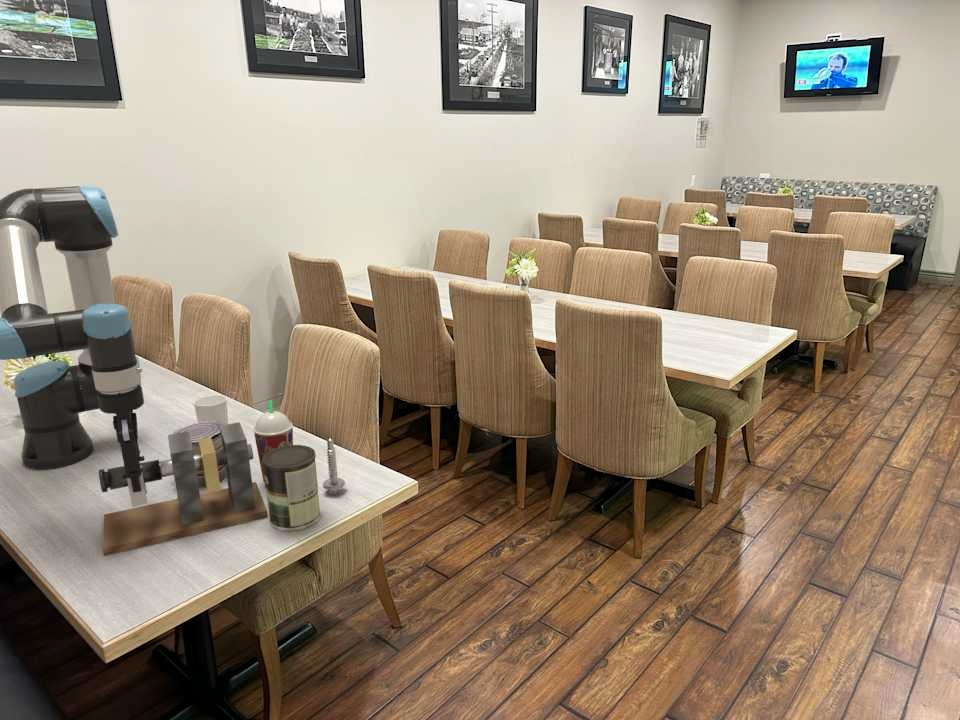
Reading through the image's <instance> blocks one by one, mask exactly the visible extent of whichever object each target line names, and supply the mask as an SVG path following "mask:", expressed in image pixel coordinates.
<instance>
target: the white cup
mask: <svg viewBox="0 0 960 720" xmlns="http://www.w3.org/2000/svg"><path fill="white" fill-rule="evenodd" d="M193 405H194V411H195V416H196V420H197V422H205V421H214V420H215V421H217V422H220V423H222V424H224V425H227V424H229V417H228V403H227V397H226V396H224V395H222V394H220V395H219V394H212V395H205V396H201V397H199V398H197V399H195V400H194V402H193Z"/></svg>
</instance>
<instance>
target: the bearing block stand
mask: <svg viewBox="0 0 960 720" xmlns="http://www.w3.org/2000/svg"><path fill="white" fill-rule="evenodd" d="M220 433H221V440H222V447H223V449H226V457H227V465H225V468H226V475H227V478H226V481H227V487H225V488H221V490H220V491H216V492H211V493H207V491H206V492H203V493H200V488H199V486H198V479H197V473H196V466H195V460H194V453H193V448H192V443H191V439H190V434H189V431H187V432H182V433H176V434H173V433H172V434H167V441H168V446H169V453H170V459H171V460H172V466H173V472H174V475H173V476H174V483H175V489H176V496H177V498H174V499H171V500H165V501H160V502H156V503H151V504H148V505H147V504H145V505H140V506H135V507H132V508H128V509H123V510H118V511H114V512H109V513H105V514H103V527H102V528H103V529H102V547H101V550H102V555H103V556H105V557H106V556H108V555H113V554H119V553H122V552H126V551H130V550H135V549H138V548H139V549H140V548H142V547H147V546H150V545H151V546H152V545H155V544H159V543H163V542H168V541H172V540H176V539H181V538H184V537H190V536H193V535H197V534H201V533H205V532H206V533H207V532H211V531H215V530H219V529H224V528H227V527H230V526H232V527H233V526H235V525H238V524H244V523H247V522H252V521H256V520H261V519H265V518H269V512H268V509H267V506H266V504H265V502H264V499H263V496H262V494H261V492H260V489H259V487H258V484H257V482H256V481H254V482H253V479H252V470H251V464H250V463H251V461H250V460H249V454H248V446H247V445H248V440H247V437H246V434H245V432H244V430H243V428H242V424H241V422H239V421H238V422H233V423H228V424H227V425H221V426H220Z"/></svg>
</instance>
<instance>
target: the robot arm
mask: <svg viewBox="0 0 960 720" xmlns="http://www.w3.org/2000/svg"><path fill="white" fill-rule="evenodd" d="M118 236H119V232H118V229H117V225H116V221H115V218H114V214H113V212H112V209H111V206H110V203H109V200H108V197H107V195H106V193H105V192H104V190H103V189H101V188H100V187H97V186H83V185H81V186H80V185H76V186H75V185H74V186H58V187H41V188H24V189H23V188H22V189H18V190H15V191H13V192H11V193H9V194H7V195H6V196H4V197H3V198H1V199H0V360H1V361H7V360H19V359H23V360H24V359H26V358H32V357H33V358H34V357H39V356H47V355H52V354H53V355H54V354H58V353H64V352H66V353H67V352H72V351H73V352H74V351H81V350H82V352H81V354H79V355H78V357H77V362H78V364H76V365H70V364H69V363H68V361H66V360H62V359H60V360H50V361H45V362H42V363H41V362H40V363H38V364H34V365H32V366H30V367H27V368H25V369H23V370H21V371H20V372H18V373H17V374H16V375H15V376H14V379H13V385H14V386H13V387H14V390H15V393H14V396H15V398H16V399H17V403H18V408H19V412H20V417H21V422H22V426H23V430H24V437H23V444H22V451H21V459H22V465H23V464H24V465H25V466H26V467H25V466H24V465H23V466H24V467H25V468H27V467H29V468H28V469H30V468H34V469H33V470H50V469H49V468H52V469H58V468H62V467H61V466H63V467H67V466H70V465H73V464H76V463H79V462H80V460H81V461H83V460H85V459H87V458H88V457H89V456H90V455H92V454H93V452H94V450H95V448H94V443H93V440H92V438H91V437H90V435H89V434H88V432H87V430H86V429H85V428H84V426H83V424H82V423H81V420H80V414H79V413H84V412H90V411H95V410H100V411H101V412H102V413H104V414H108V415H109V414H110V415H111V414H113V416H112V424H113V429H114V430H115V433H116V437H117V443H118V444H120V451H121V454H122V455H121V456H122V460H123V466H124V467H125V472H126V474H124V475H122V477H123V478H127V482H128V486H127V487H128V491H129V497H130V501H131V502H130V503H131V507H132V508H136V507H140V506H145V505H147V504H148V497H147V493H148V491H147V485H146V483H144V480H143V474H142V470H141V469H140V463H143V462H144V461H145V456H144V455H142V456H141V451H140V448H139V442H138V438H139V436H138V435H139V434H138V431H139V430H138V418H137V412H134V410H138V409H139V408H141V407H142V406H143V405H144V403H145V400H144V393H143V388H142V378H141V377H142V376H141V373H142V372H143V368H142V367H141V366H140V361H139V358H138V356H137V355H136V350H135V349H136V348H135V343H134V342H135V341H134V335H133V331H132V330H133V329H132V326H133V324H132V321H131V317H130V315H129V311H128V308H127V307H126V306H124V305H122V304H118V303H116V300H115V299H116V298H115V293H114V286H113V280H112V276H111V270H110V269H111V268H110V265H109V258H108V251H110V249H111V248H112V247H113V239H115V238H117V237H118ZM43 242H44V243H50V242H54V247H55V250H56V251H58V252H59V253H60V254H62V255H63V256H64V258H65V264H66V269H67V274H68V279H69V284H70V285H69V286H70V288H71V294H72V300H73V305H74V310H70V311H69V310H68V311H60V312H52V313H51V312H50V313H49V312H48V311H49V310H48V307H47V301H46V295H45V290H44V285H43V280H42V273H41V267H40V264H39V263H40V262H39V258H38V252H37V248H38V247H39V244H40V243H43ZM75 462H76V463H75ZM145 462H146V461H145ZM69 464H70V465H69ZM66 465H67V466H66ZM57 467H58V468H57ZM148 505H149V504H148Z"/></svg>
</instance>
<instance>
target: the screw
mask: <svg viewBox="0 0 960 720" xmlns="http://www.w3.org/2000/svg"><path fill="white" fill-rule="evenodd" d="M326 445H327V450H326V451H327V452H326V454H327V455H326V456H327V457H326V458H327V466H328V467H327V468H328V470H327V471H329V472H328V479H326V480H325V481H324V482H323V483H322V488H323V489H325V490H327V492H328V493H329V495H331V496H333V495H335V496H336V495H339V494H340V493H341V492H342V488H344V487H345V485H346V481H345V480H344V479H343V478H341V477H338V467H337V455H336V454H337V453H336V450H335V449H336V447H334V439H333V438H331V437H328V438H327V439H326Z"/></svg>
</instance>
